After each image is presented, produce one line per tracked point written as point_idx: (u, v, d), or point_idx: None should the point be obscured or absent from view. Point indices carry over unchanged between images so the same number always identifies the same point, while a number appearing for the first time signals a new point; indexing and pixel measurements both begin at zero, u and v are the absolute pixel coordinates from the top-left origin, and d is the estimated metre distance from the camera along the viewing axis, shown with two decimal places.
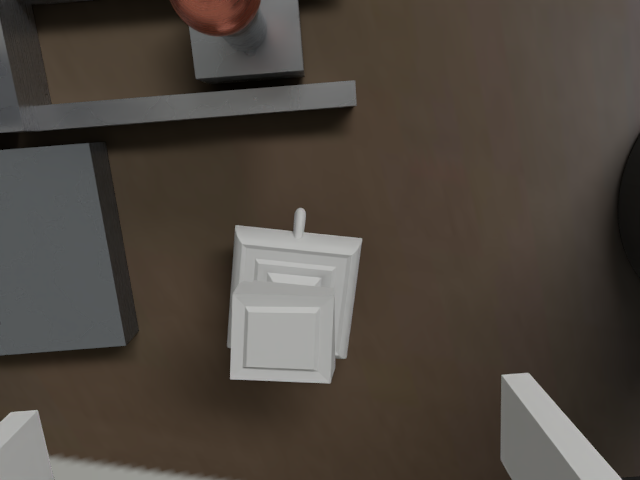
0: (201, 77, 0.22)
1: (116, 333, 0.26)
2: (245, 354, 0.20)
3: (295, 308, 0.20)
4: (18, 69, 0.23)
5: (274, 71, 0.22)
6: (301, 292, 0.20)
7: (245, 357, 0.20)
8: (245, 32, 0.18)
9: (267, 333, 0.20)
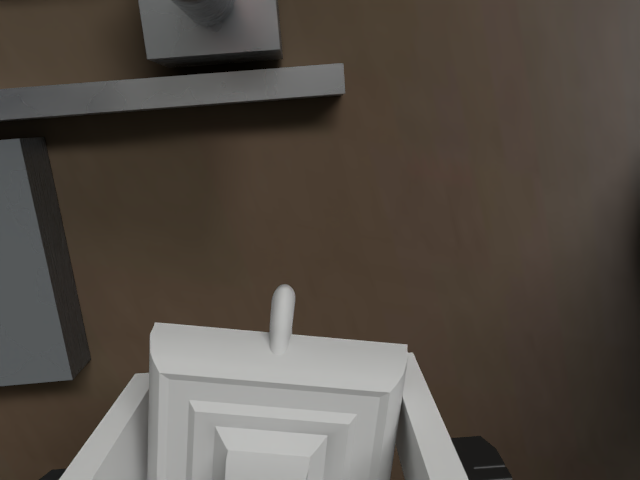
0: (154, 57, 0.18)
1: (60, 365, 0.22)
2: None
3: None
4: None
5: (244, 50, 0.18)
6: None
7: None
8: None
9: None
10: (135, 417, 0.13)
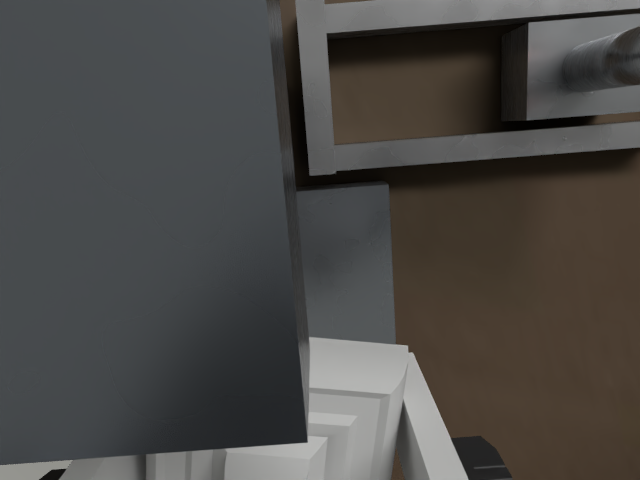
0: (532, 118, 0.21)
1: None
2: None
3: None
4: None
5: (609, 112, 0.21)
6: None
7: None
8: None
9: None
10: None
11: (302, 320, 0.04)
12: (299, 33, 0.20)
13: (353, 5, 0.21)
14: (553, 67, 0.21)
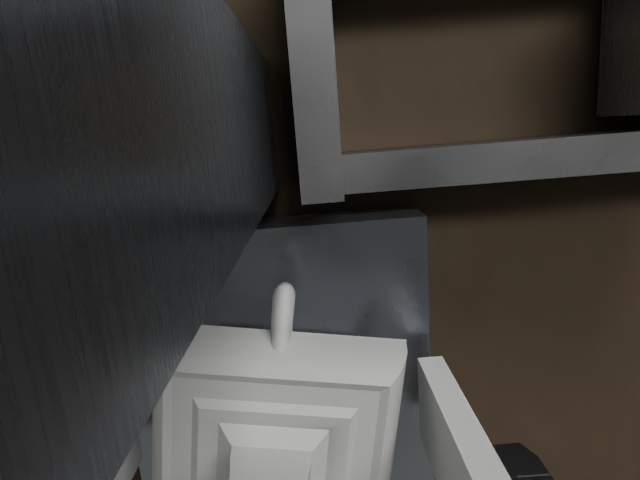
0: None
1: None
2: None
3: None
4: None
5: None
6: None
7: None
8: None
9: None
10: None
11: None
12: None
13: None
14: None
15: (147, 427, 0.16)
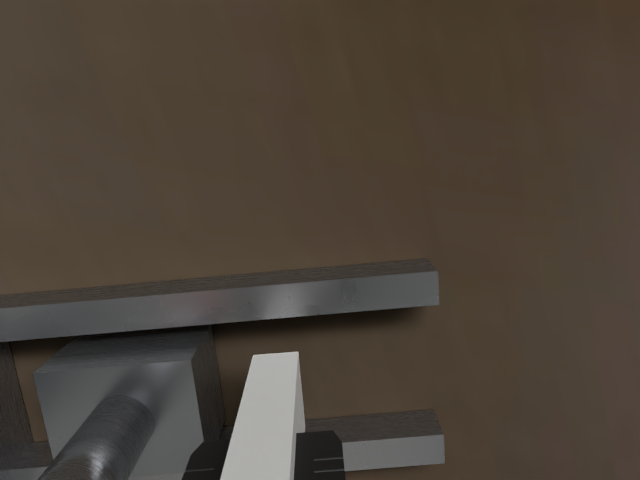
0: None
1: None
2: None
3: None
4: None
5: (168, 472, 0.16)
6: None
7: None
8: None
9: None
10: (271, 394, 0.14)
11: None
12: None
13: (6, 311, 0.16)
14: (78, 424, 0.16)
15: None
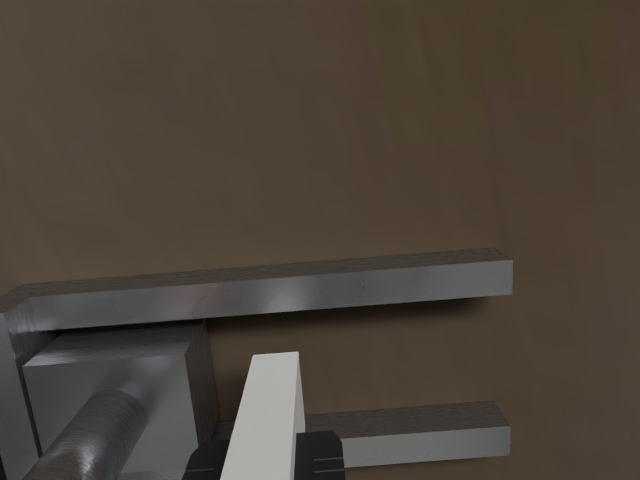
0: None
1: None
2: None
3: None
4: None
5: (160, 467, 0.16)
6: None
7: None
8: None
9: None
10: (271, 394, 0.14)
11: None
12: None
13: (71, 298, 0.16)
14: (69, 418, 0.15)
15: None
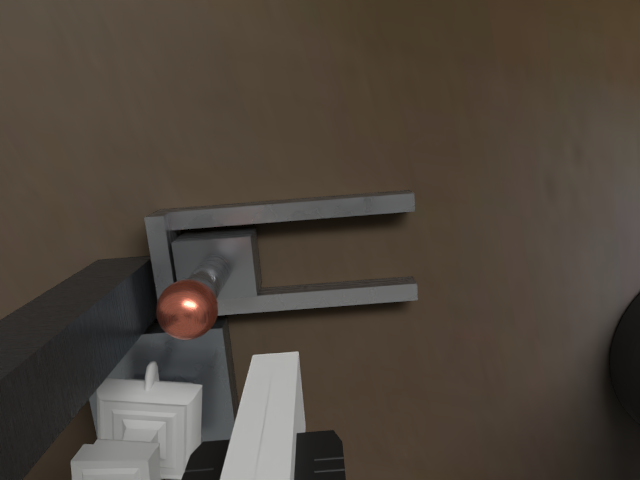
0: None
1: None
2: None
3: (119, 470, 0.26)
4: None
5: (236, 297, 0.31)
6: (124, 456, 0.26)
7: None
8: None
9: None
10: (271, 394, 0.14)
11: None
12: (148, 238, 0.30)
13: (190, 212, 0.31)
14: (192, 270, 0.31)
15: None
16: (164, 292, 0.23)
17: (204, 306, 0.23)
